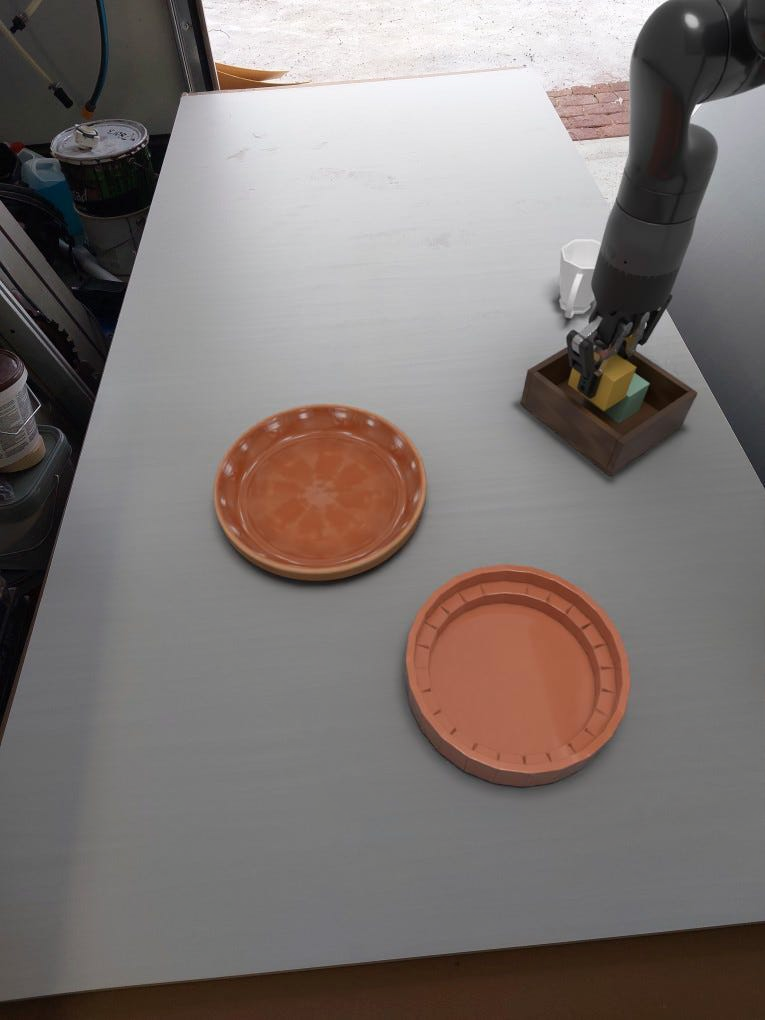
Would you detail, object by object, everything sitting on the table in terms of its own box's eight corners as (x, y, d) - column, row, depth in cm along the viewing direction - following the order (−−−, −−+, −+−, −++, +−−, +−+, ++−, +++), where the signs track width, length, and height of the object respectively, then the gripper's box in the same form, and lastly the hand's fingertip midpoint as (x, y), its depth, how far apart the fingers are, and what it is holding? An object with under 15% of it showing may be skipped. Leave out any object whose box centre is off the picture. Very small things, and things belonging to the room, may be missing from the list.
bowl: (661, 697, 63) (677, 678, 59) (505, 837, 56) (513, 825, 53) (513, 555, 72) (519, 531, 69) (364, 661, 65) (362, 640, 62)
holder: (681, 426, 83) (698, 392, 78) (610, 476, 78) (623, 443, 74) (590, 361, 90) (601, 326, 85) (520, 404, 85) (527, 370, 81)
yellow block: (625, 397, 78) (636, 367, 74) (603, 411, 77) (614, 381, 73) (589, 371, 80) (598, 340, 77) (567, 384, 79) (575, 354, 76)
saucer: (467, 498, 77) (470, 477, 74) (315, 632, 67) (311, 614, 64) (328, 397, 86) (326, 375, 83) (178, 501, 77) (169, 481, 74)
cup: (604, 295, 98) (620, 244, 91) (589, 339, 92) (603, 287, 86) (556, 284, 99) (567, 233, 93) (537, 326, 94) (548, 275, 87)
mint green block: (639, 410, 83) (650, 383, 80) (618, 424, 82) (629, 396, 79) (604, 385, 86) (613, 358, 82) (584, 398, 85) (593, 370, 81)
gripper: (622, 298, 60) (579, 433, 74) (723, 239, 65) (665, 377, 79) (559, 258, 63) (529, 394, 77) (660, 205, 68) (615, 342, 82)
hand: (598, 385), depth 78 cm, fingers closed on yellow block, 3 cm apart
